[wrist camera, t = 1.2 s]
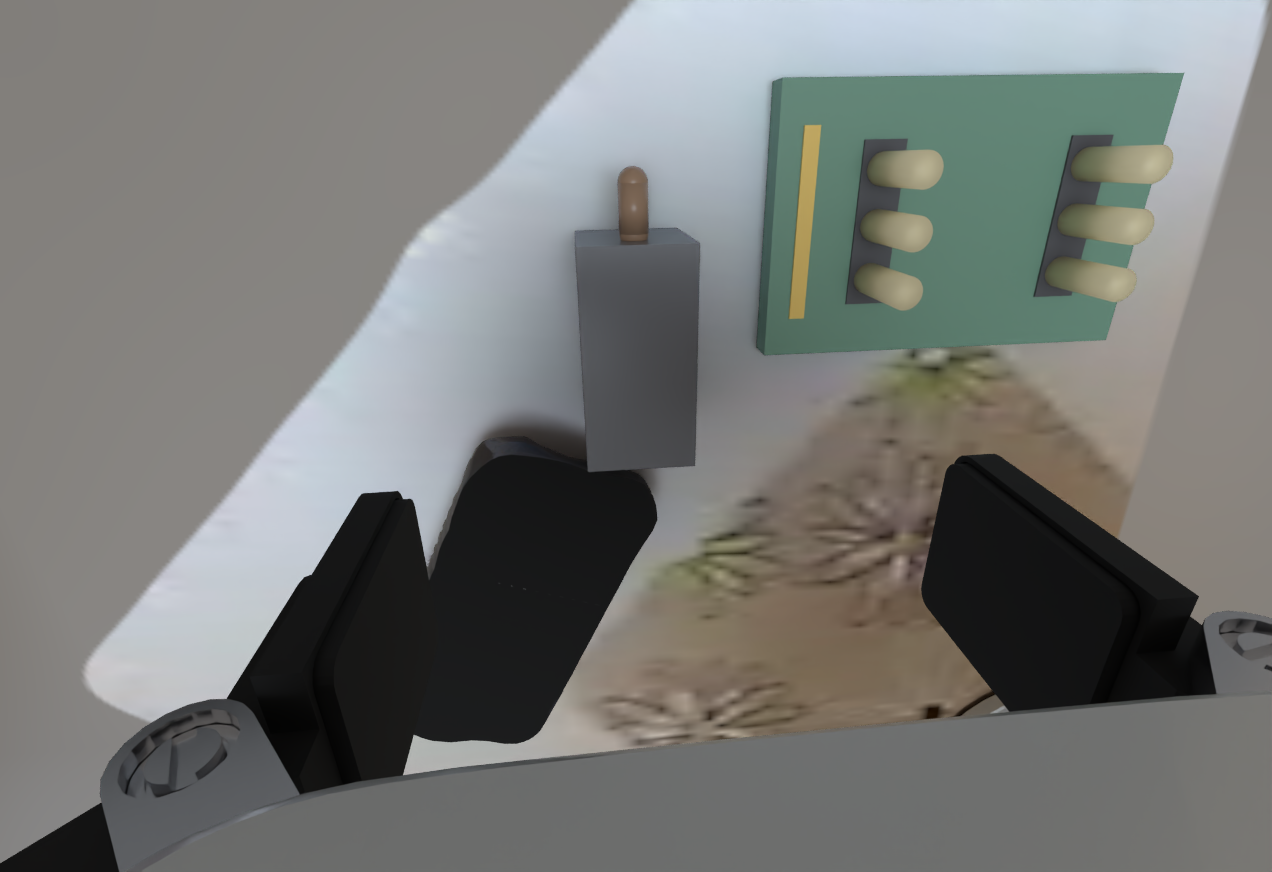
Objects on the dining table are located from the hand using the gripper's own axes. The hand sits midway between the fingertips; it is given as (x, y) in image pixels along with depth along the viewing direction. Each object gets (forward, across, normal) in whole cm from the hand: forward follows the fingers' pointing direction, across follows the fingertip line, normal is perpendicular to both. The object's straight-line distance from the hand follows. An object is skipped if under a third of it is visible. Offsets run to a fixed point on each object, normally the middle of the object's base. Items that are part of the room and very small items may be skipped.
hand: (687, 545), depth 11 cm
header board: (+16, -13, -4) cm, 21 cm away
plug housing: (+16, 0, -1) cm, 16 cm away
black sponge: (+17, +5, +13) cm, 22 cm away
